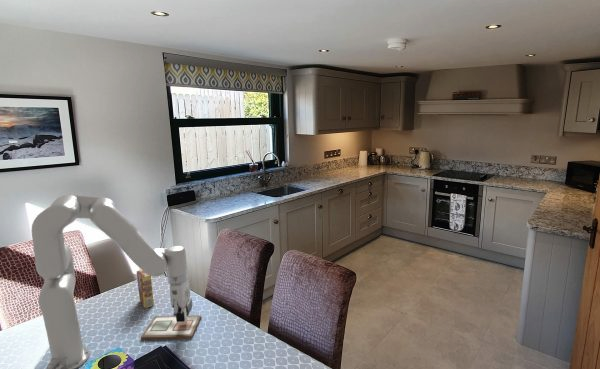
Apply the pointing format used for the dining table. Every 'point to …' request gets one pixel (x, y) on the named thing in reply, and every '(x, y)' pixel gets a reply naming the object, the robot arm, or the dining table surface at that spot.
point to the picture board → (171, 328)
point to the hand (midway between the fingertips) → (182, 317)
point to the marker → (184, 316)
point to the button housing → (189, 304)
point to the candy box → (145, 289)
